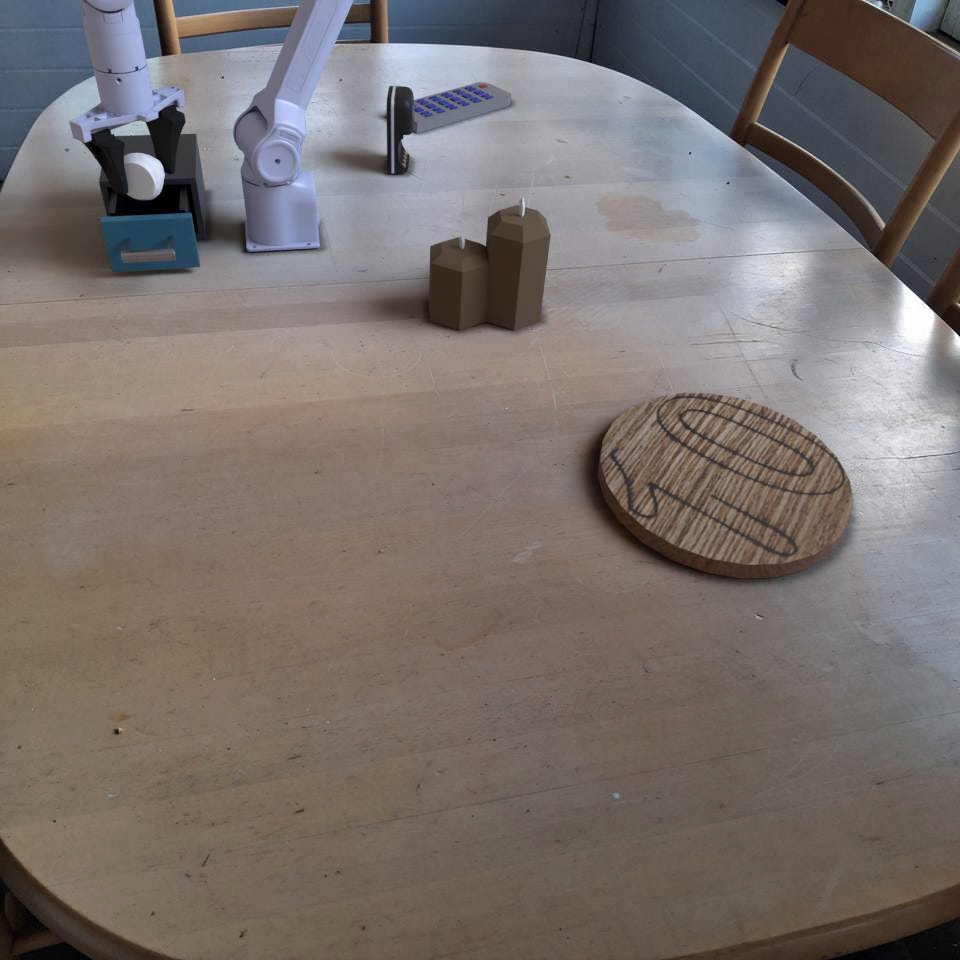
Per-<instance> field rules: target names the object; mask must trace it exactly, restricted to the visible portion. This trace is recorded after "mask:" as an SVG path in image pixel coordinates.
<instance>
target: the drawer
mask: <svg viewBox="0 0 960 960" xmlns="http://www.w3.org/2000/svg"><path fill="white" fill-rule="evenodd" d="M108 214H109V217H107V216H101V217H100V221H99V223H100V226H101V232H102V236H103V238H104V243H105V247H106V250H107V256H108V259H109V263H110V268H111V270H112V273H120V272H121V273H123V272H137V271H138V272H139V271H140V272H141V271H154V270H155V271H157V270H175V269H193V268H201V261H200V254H199V250H198V244H197V243H198V242H197V240H196V236H195V231H194V213H193V206H192V201H191V195H190V189H189V184H177V185H163V187H162V190H161V192H160V194H159V195H158V196H157V197H155V198H154V199H152V200H137V199H134V198H132V197H130V196H128V195H127V194H121V193H119V192H116V191H114V190H113V189H112V192H111V199H110V205H109V212H108Z"/></svg>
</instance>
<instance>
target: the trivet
mask: <svg viewBox="0 0 960 960" xmlns="http://www.w3.org/2000/svg"><path fill="white" fill-rule="evenodd" d="M599 451H600V452H599V459H598V468H597V478H598V482H599V486H600V489H601V493H602V497H603V500H604V501H605V502H606V505H608V507H609V508H610V510H611V511H612V512H613V515H614V517H615V518H616V520H618V522H619V523H620V524H621V525H622V526H623V527H624V528H626V529H627V530H628V531H629V532H630V533H631V534H632V535H633V536H634V537H635V538H636V539H637V540H639V542H641V543H642V544H644V545H645V546H647V547H649V548H650V549H652V550H654V551H655V552H657V553H659V554H661V555H662V556H664V557H666V558H667V559H669V560H671V561H672V562H676V563H679V564H682V565H684V566H687V567H690V568H692V569H695V570H698V571H701V572H704V573H706V574H712V575H717V576H718V575H719V576H725V577H729V578H736V579H741V580H742V579H743V580H744V579H769V578H770V579H771V578H779V577H783V576H788V575H790V574H794V573H798V572H802V571H805V570H807V569H809V568H810V567H813V566H814V565H815V564H817V563H818V562H820V561H822V560H823V559H825V558H827V557H828V556H830V554H831V552H832V551H833V550H834V549H835V547H836V546H837V545H838V544H839V542H840V540H841V539H842V538H843V536H844V534H845V532H846V530H847V529H848V526H849V524H850V520H851V516H852V511H853V507H854V502H855V501H854V495H853V490H852V485H851V479H850V477H849V475H848V474H847V472H846V470H845V468H844V467H843V465H842V463H841V462H840V459H839V458H838V457H837V455H836V454H835V453H834V452H833V451H832V450H831V449H830V448H829V447H828V446H827V444H825V442H823V440H822V439H821V438H820V437H819V436H818V435H816V434H815V433H813V432H812V431H811V430H809V429H808V428H806V427H805V426H803V425H802V424H801V423H799V422H798V421H797V420H795V419H793V418H791V417H790V416H789V417H788V416H786V415H784V414H782V413H781V412H778V411H776V410H774V409H773V408H770V407H768V406H766V405H764V404H759V403H756V402H753V401H749V400H746V399H743V398H740V397H737V396H730V395H723V394H716V393H710V392H678V393H672V394H667V395H662V396H657V397H652V398H649V399H648V400H645V401H642V402H641V403H638V404H636V405H633V406H631V407H629V408H628V409H627V410H626V411H624V412H623V413H622V414H621V415H620V416H618V417H617V418H616V419H614V421H612V423H611V424H610V427H609V428H608V431H607V432H606V433H605V435H604V437H603V439H602V442H601V446H600V450H599Z"/></svg>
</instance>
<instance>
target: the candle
mask: <svg viewBox="0 0 960 960" xmlns="http://www.w3.org/2000/svg"><path fill="white" fill-rule="evenodd" d="M518 203H519V205H518V204H516V205H513V206H508V207H505V208H502V209H499V210H497V211H496V212H494V213H493V214H491V215H490V216H488V217H487V223H486V224H487V225H486V240H485V245H484V244H483V243H480V242H478V241H474V240H471V239H466V238H465V237H464V236H463V235H460V236H458V237H454V238H451V239H448V240H444V241H441V242H438V243H435V244H432V245H430V246H429V273H428V274H429V275H428V276H429V278H428V309H429V321H430V322H431V323H435V324H438V325H441V326H444V327H447V328H451V329H454V330H457V331H462V330H464V329H468V328H470V327H473V326H477V325H479V324H482V323H484V322H487V323H489V324H493V325H496V326H499V327H503V328H506V329H509V330H512V331H516V330H519V329H522V328H524V327H525V328H526V327H528V326H531V325H532V324H536V323H538V322H541V316H542V307H543V299H544V293H545V291H544V290H545V285H546V275H547V268H548V259H549V251H550V245H551V244H550V243H551V237H552V235H551V231H550V228H549V224H548V220H547V218H546V217H545V216H544V215H543V214H542V213H541V212H540V211H539V210H537V209H533V208H530V207H526V203H525V197H520V199H519V201H518Z"/></svg>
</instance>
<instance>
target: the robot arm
mask: <svg viewBox="0 0 960 960" xmlns="http://www.w3.org/2000/svg"><path fill="white" fill-rule="evenodd" d="M353 3H354V0H300V3H299V5H298V7H297V10H296V11H295V15H294V17H293V19H292V22H291V24H290V27H289V30H288V31H287V35H286V37H285V39H284V42H283V44H282V46H281V48H280V51H279V54H278V56H277V59H276V61H275V64H274V66H273V68H272V71H271V73H270V76H269V79H268V81H267V83H266V85H265V87H264V88H262V89H261V90H260V91H258V92H257V93H255V94H254V95H253V98H252V100H251V103H250V104H249V106H248V107H247V108H246V109H245V110H244V111H242V113H241V114H239V116H237V118H236V120H235V122H234V124H233V127H232V136H233V140H234V143H235V145H236V146H237V148H238V150H239V151H241V152H242V154H243V161H242V165H241V167H240V178H241V185H242V193H243V202H244V208H245V210H244V211H245V217H246V218H245V219H246V220H244V231H245V232H244V233H245V247H246V251H247V252H250V253H251V252H269V251H271V252H272V251H287V250H289V251H291V250H305V249H306V250H308V249H309V250H310V249H319V248H320V247H321V243H320V233H319V227H320V226H321V220H320V212H319V211H318V203H317V191H316V182H315V173H314V171H313V170H306V169H301V165H302V161H303V160H302V147H303V144H304V141H305V140H306V137H307V125H306V124H307V123H306V121H307V120H306V112H307V109H308V106H309V104H310V101H311V100H312V97H313V95H314V93H315V90H316V88H317V86H318V83H319V81H320V79H321V77H322V74H323V72H324V69H325V67H326V65H327V62H328V60H329V58H330V56H331V53H332V51H333V49H334V47H335V44H336V42H337V40H338V37H339V35H340V33H341V30H342V28H343V26H344V24H345V21H346V19H347V17H348V15H349V13H350V10H351V7H352V6H353ZM79 7H80V13H81V14H82V16H83V19H82V26H83V29H84V34H85V39H86V43H87V47H88V52H89V57H90V60H91V61H90V62H91V66H92V69H93V73H94V78H95V82H96V87H97V91H98V95H99V100H100V103H98V104H97V105H95V106H94V107H92V108H91V109H89V110H87V111H85V112H84V113H83V114H82V115H80V116H77V117H76V118H74V119H71V120H69V121H68V123H69V127H70V131H71V134H72V138H73V139H75V140H76V141H79V142H81V143H82V144H83V145H84V146H85V147H86V149H88V151H89V152H90V153H91V155H92V156H93V158H94V159H95V160H96V161H97V163H98V164H99V166H100V169H101V168H102V169H103V171H104V173H105V175H106V177H107V179H108V181H109V183H110V185H111V187H112V189H113V190H114V191H116V192H119V193H121V194H126V193H128V183H127V178H126V173H125V167H124V146H125V142H123V141H121V140H118V139H116V138H115V136H116V135H115V134H114V133H112V131H114V130H115V129H118V128H121V127H124V126H126V125H130V124H132V123H134V122H136V123H137V122H144V123H145V124H146V127H147V130H148V132H149V135H150V136H151V139H152V142H153V147H154V152H155V156H156V159H158V160H159V161H160V162H161V164H162V166H163V169H164V172H166V173H168V174H170V175H171V174H173V173H175V162H176V152H177V146H178V141H179V138H180V134H182V132H183V129H184V127H185V124H186V121H187V120H186V115H185V113H184V112H182V111H180V110H178V109H180V108H183V107H185V106H186V105H187V104H186V98H185V93H184V89H182V88H180V87H177V86H174V85H169V86H165V87H159V88H156V89H153V88H152V82H151V78H150V73H149V67H148V62H147V57H146V50H145V45H144V41H143V35H142V30H141V25H140V20H139V17H137V13H136V8H135V0H79Z"/></svg>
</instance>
